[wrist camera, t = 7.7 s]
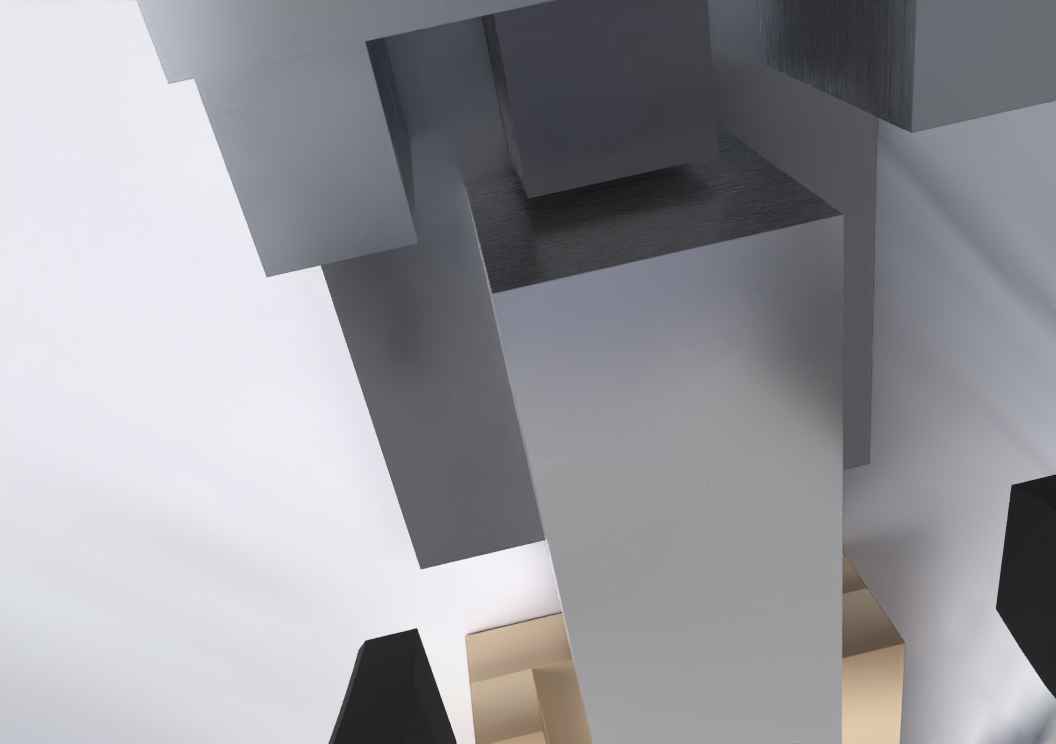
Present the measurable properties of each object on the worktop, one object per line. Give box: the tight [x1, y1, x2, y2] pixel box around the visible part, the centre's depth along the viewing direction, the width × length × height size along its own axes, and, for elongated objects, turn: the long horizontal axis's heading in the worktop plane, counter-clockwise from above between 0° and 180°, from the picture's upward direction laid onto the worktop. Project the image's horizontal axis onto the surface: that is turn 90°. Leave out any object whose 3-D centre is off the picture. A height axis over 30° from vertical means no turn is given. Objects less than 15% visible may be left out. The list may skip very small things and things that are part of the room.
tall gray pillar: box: [465, 129, 844, 744], centre depth 13 cm, size 9×4×4 cm, turn 10°
